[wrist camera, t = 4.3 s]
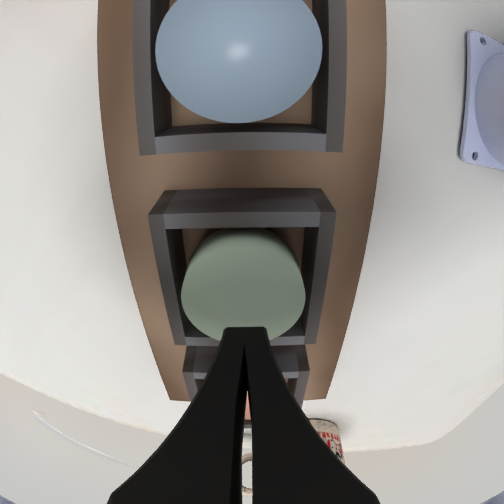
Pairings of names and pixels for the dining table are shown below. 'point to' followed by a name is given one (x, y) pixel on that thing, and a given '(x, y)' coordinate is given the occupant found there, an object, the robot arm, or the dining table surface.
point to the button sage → (243, 283)
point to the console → (244, 184)
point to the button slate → (238, 56)
